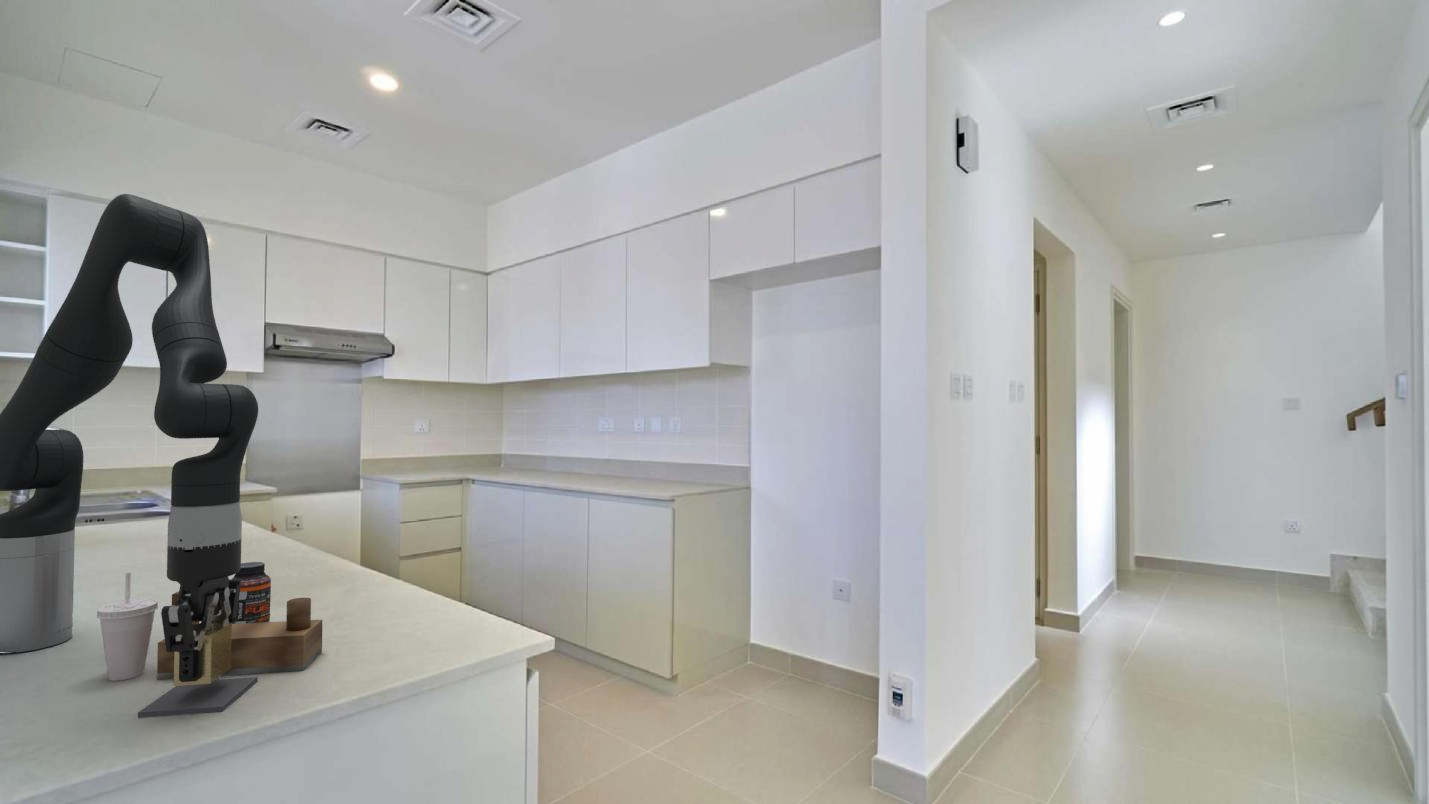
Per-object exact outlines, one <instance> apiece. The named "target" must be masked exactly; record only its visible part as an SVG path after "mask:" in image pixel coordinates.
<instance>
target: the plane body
mask: <svg viewBox="0 0 1429 804" xmlns="http://www.w3.org/2000/svg"><path fill="white" fill-rule="evenodd" d="M178 594H179V590H178V591H176V592H174V593H172V594H171V606H172V605H174V604H175V603H176V602H177V597H178ZM311 616H312V598H311V597H297V598H295V597H294V598H291V599H289V600H286V620H285V621H283V620H282V621H270V622H262V623H241V624H232V641H231V668H230V669H229V670H228V671H226V672H225V673H224V674H222V675H221V676H233V675H234V676H235V675H237V676H238V675H251V674H265V673H266V674H269V673H281V672H282V673H286V672H299V671H305V669H307V668H308V667H309V666H310V664H312V662H313V661H315V660H316V659H317V658H318V657H319V656H320V655H321V654H322V652H323V619H312V617H311ZM192 624H200V621H197V622H192ZM176 636H178V635H175V637H176ZM156 663H157V666H156V667H157V668H156V669H157V670H156V681H157V680H158V681H159V680H171V679H173V680H174V652H167V651H166V645H165V638H164V639H162V640H160V641H159V642H157V661H156ZM221 676H220V677H221Z"/></svg>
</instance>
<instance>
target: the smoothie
mask: <svg viewBox="0 0 1429 804" xmlns="http://www.w3.org/2000/svg"><path fill="white" fill-rule="evenodd" d="M131 577H132V574H131V572H125V580H124V582H125V583H124V584H125V585H124V600H120V601H115V602H111V603H108V604H104V605H102V606H100V607H99V608H97V611H96V618H97V619H99V621H100V630H101V634H102V635H101V636H102V643H103V650H104V656H105V664H106V672H107V679H108V680H109V681H123V680H129V679H134V678H136V677H139V676H141V675H144V673H145V669H146V663H147V659H148V657H147V656H148V652H149V646H150V641H151V635H152V631H153V623H154V618H155V611H157V610H158V609H159V605H158V603H159V602H158V600H157V599H153V598H134V599H131V585H132V582H131V581H132V580H131Z"/></svg>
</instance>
